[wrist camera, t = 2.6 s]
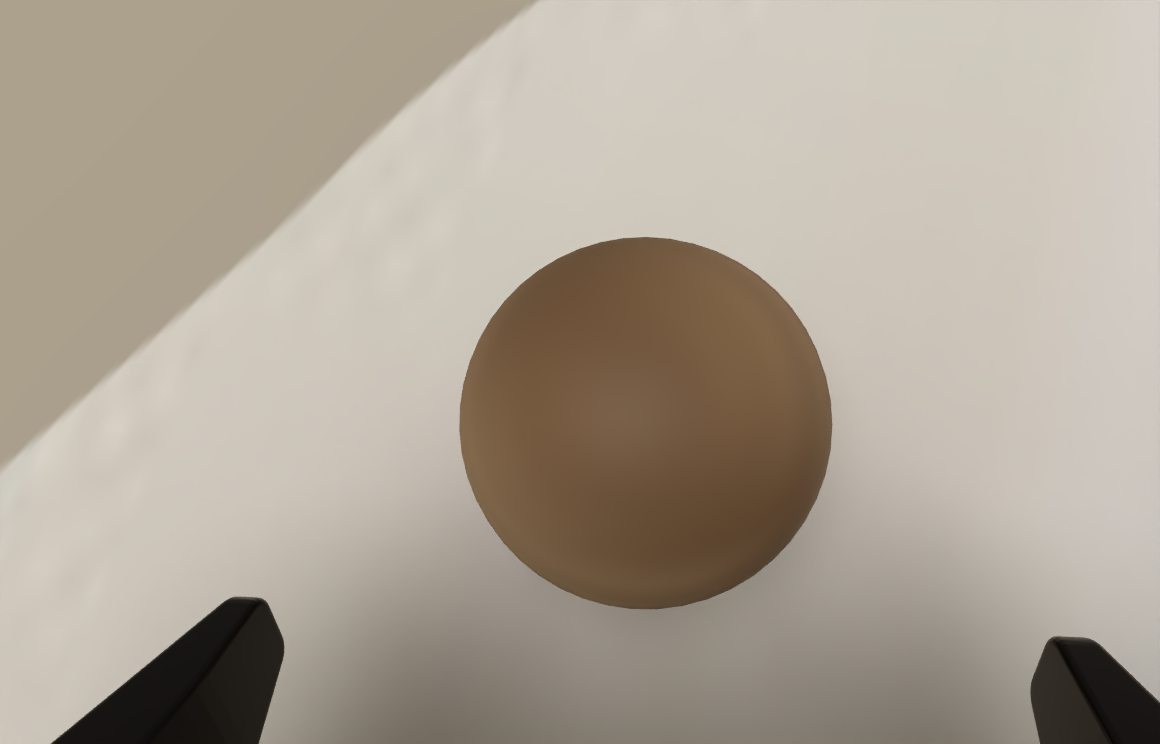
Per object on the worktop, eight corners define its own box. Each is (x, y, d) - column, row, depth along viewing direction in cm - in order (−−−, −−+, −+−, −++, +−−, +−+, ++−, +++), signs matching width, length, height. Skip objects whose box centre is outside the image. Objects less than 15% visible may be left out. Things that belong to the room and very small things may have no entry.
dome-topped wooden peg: (641, 612, 19) (565, 730, 8) (529, 444, 20) (327, 341, 9) (811, 495, 19) (971, 449, 8) (690, 332, 20) (683, 92, 9)
